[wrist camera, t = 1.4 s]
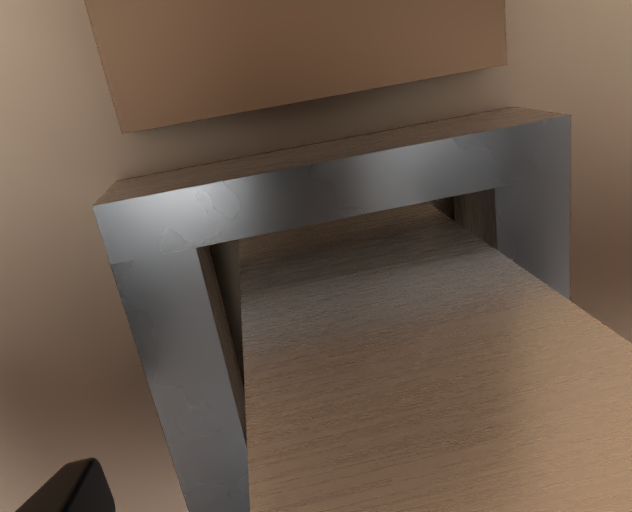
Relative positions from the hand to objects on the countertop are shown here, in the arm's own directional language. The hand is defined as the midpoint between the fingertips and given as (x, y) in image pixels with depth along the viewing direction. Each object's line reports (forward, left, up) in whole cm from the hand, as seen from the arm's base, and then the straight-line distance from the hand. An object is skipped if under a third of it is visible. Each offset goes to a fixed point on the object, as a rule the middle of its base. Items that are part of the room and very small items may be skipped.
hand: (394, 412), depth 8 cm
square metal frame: (0, 0, -4) cm, 4 cm away
